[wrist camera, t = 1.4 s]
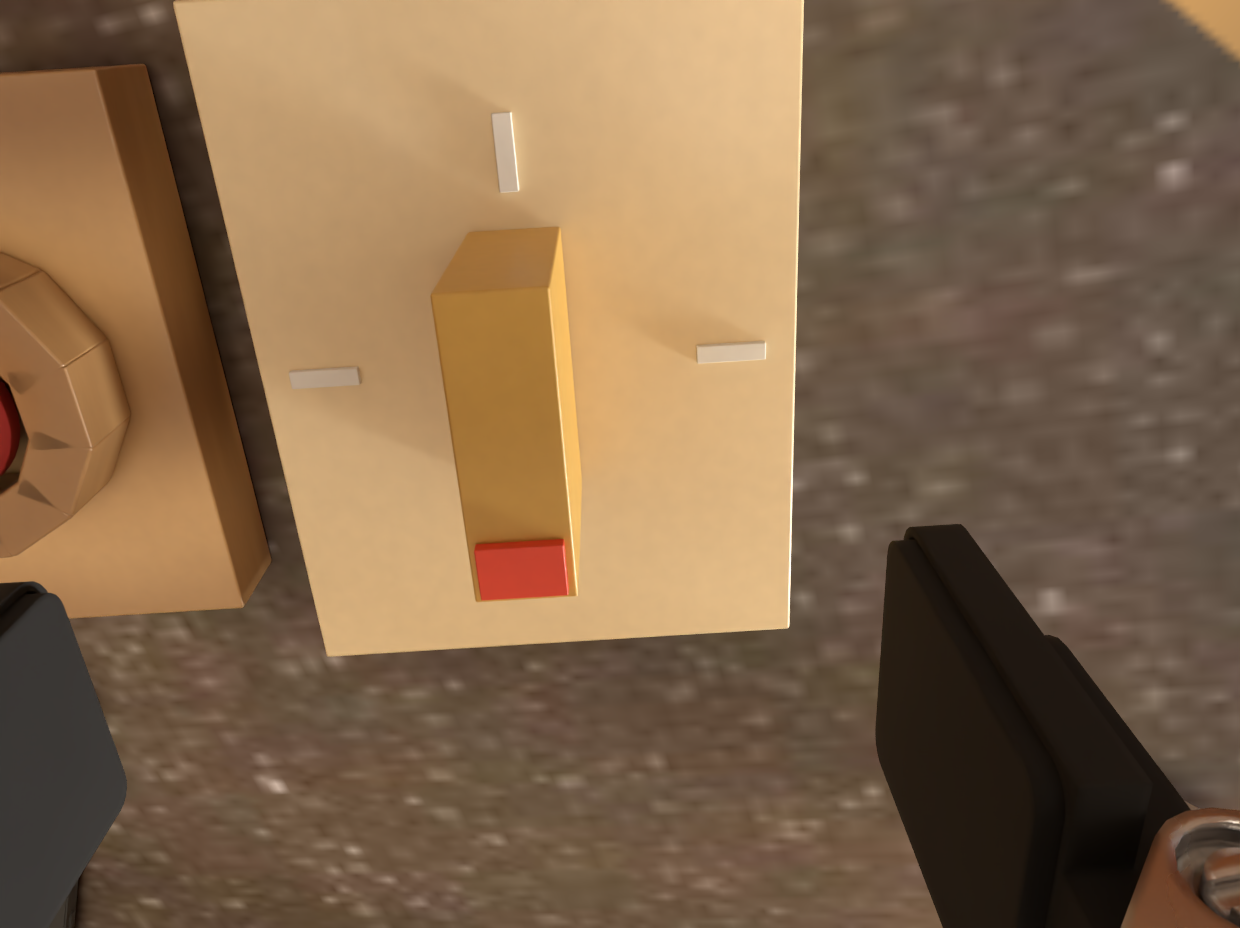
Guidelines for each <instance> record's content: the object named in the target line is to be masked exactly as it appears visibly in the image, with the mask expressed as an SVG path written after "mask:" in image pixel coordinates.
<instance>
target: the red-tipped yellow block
mask: <svg viewBox="0 0 1240 928" xmlns="http://www.w3.org/2000/svg"><path fill="white" fill-rule="evenodd" d="M430 298H431V305H432V312H433V319H434V325H435V332H436V339H437V345H438V352H439V359H440V366H441V372H442V379H443V386H444V393H445V399H446V406H447V413H448V420H449V426H450V433H451V440H452V447H453V453H454V460H455V467H456V474H457V480H458V487H459V494H460V500H461V507H462V514H463V521H464V527H465V534H466V541H467V548H468V554H469V561H470V568H471V575H472V581H473V588H474V595H475V600H476V602H492V601H508V600H524V599H540V598H557V597H573V596H577V595H578V590H579V559H580V527H581V495H582V475H581V464H580V452H579V440H578V428H577V416H576V405H575V393H574V381H573V369H572V357H571V346H570V334H569V322H568V310H567V298H566V287H565V275H564V263H563V251H562V239H561V229H560V227H542V228H526V229H511V230H495V231H479V232H469V233H467V235H466V236H465V238H464V240H463V241H462V243H461V245H460V246H459V248H458V250H457V251H456V253H455V255H454V256H453V258H452V260H451V261H450V263H449V265H448V266H447V268H446V270H445V271H444V273H443V275H442V276H441V278H440V280H439V281H438V283H437V285H436V286H435V288H434V289H433V291H432V293H431V295H430Z"/></svg>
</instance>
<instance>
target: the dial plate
mask: <svg viewBox="0 0 1240 928" xmlns="http://www.w3.org/2000/svg"><path fill="white" fill-rule="evenodd" d="M173 6H174V10H175V14H176V18H177V23H178V27H179V31H180V35H181V40H182V44H183V48H184V52H185V56H186V61H187V65H188V69H189V73H190V78H191V82H192V86H193V90H194V95H195V99H196V103H197V107H198V111H199V116H200V120H201V124H202V128H203V133H204V137H205V141H206V145H207V150H208V154H209V158H210V162H211V167H212V171H213V175H214V179H215V183H216V188H217V192H218V196H219V200H220V205H221V209H222V213H223V217H224V222H225V226H226V230H227V234H228V238H229V243H230V247H231V251H232V255H233V260H234V264H235V268H236V272H237V277H238V281H239V285H240V289H241V293H242V298H243V302H244V306H245V310H246V315H247V319H248V323H249V327H250V332H251V336H252V340H253V344H254V348H255V353H256V357H257V361H258V365H259V370H260V374H261V378H262V382H263V387H264V391H265V395H266V399H267V404H268V408H269V412H270V416H271V420H272V425H273V429H274V433H275V437H276V442H277V446H278V450H279V454H280V459H281V463H282V467H283V471H284V475H285V480H286V484H287V488H288V492H289V497H290V501H291V505H292V509H293V514H294V518H295V522H296V526H297V530H298V535H299V539H300V543H301V547H302V552H303V556H304V560H305V564H306V569H307V573H308V577H309V581H310V586H311V590H312V594H313V598H314V602H315V607H316V611H317V615H318V619H319V624H320V628H321V632H322V636H323V641H324V645H325V649H326V653H327V656H329V657H330V656H346V655H363V654H379V653H395V652H411V651H428V650H444V649H460V648H476V647H492V646H509V645H525V644H541V643H557V642H574V641H590V640H606V639H622V638H638V637H655V636H671V635H687V634H703V633H720V632H736V631H752V630H768V629H784V628H789V618H790V575H791V531H792V488H793V445H794V401H795V358H796V315H797V272H798V228H799V185H800V142H801V98H802V55H803V12H804V0H176V1H174V2H173ZM542 227H560V229H561V239H562V251H563V263H564V275H565V287H566V298H567V310H568V322H569V334H570V346H571V357H572V369H573V381H574V393H575V405H576V416H577V428H578V440H579V452H580V464H581V475H582V495H581V527H580V559H579V590H578V595H577V596H573V597H557V598H540V599H524V600H508V601H492V602H476V600H475V595H474V588H473V581H472V575H471V568H470V561H469V554H468V548H467V541H466V534H465V527H464V521H463V514H462V507H461V500H460V494H459V487H458V480H457V474H456V467H455V460H454V453H453V447H452V440H451V433H450V426H449V420H448V413H447V406H446V399H445V393H444V386H443V379H442V372H441V366H440V359H439V352H438V345H437V339H436V332H435V325H434V319H433V312H432V305H431V298H430V295H431V293H432V291H433V289H434V288H435V286H436V285H437V283H438V281H439V280H440V278H441V276H442V275H443V273H444V271H445V270H446V268H447V266H448V265H449V263H450V261H451V260H452V258H453V256H454V255H455V253H456V251H457V250H458V248H459V246H460V245H461V243H462V241H463V240H464V238H465V236H466V235H467V233H469V232H479V231H495V230H511V229H526V228H542Z"/></svg>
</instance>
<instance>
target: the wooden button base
mask: <svg viewBox="0 0 1240 928" xmlns="http://www.w3.org/2000/svg"><path fill="white" fill-rule="evenodd" d="M0 379H1V380H2V382H3V383H4V384H5V386H6V388H7V389H8V391H9V393H10V394H11V397H12V399H13V401H14V404H15V406H16V409H17V413H18V416H19V423H20V441H19V447H18V450H17V453H16V456H15V459H14V460H13V462H12V464H11V466H10V467H9V468H8V469H7V471H6V472H5V473H4V474H3V475H2V476H1V477H0V583H11V582H27V581H34V582H37V583H39V584H41V585H42V586H43V587H44V588H45V589H46V590H47V592H48V593H53V594H56V595H57V596H58V597H59V598H60V599H61V601H62V603H63V605H64V607H65V610H66V613H67V616H68V618H85V617H101V616H117V615H133V614H149V613H165V612H181V611H198V610H214V609H230V608H242V607H244V606H245V604H246V603H247V601H248V599H249V598H250V596H251V594H252V593H253V591H254V589H255V588H256V586H257V584H258V583H259V581H260V579H261V578H262V576H263V574H264V573H265V571H266V569H267V568H268V566H269V564H270V563H271V556H270V552H269V548H268V544H267V540H266V537H265V533H264V529H263V525H262V521H261V517H260V513H259V509H258V505H257V501H256V497H255V493H254V489H253V485H252V481H251V477H250V473H249V470H248V466H247V462H246V458H245V454H244V450H243V446H242V442H241V438H240V434H239V430H238V426H237V422H236V418H235V414H234V410H233V407H232V403H231V399H230V395H229V391H228V387H227V383H226V379H225V375H224V371H223V367H222V363H221V359H220V355H219V351H218V347H217V344H216V340H215V336H214V332H213V328H212V324H211V320H210V316H209V312H208V308H207V304H206V300H205V296H204V292H203V288H202V284H201V280H200V277H199V273H198V269H197V265H196V261H195V257H194V253H193V249H192V245H191V241H190V237H189V233H188V229H187V225H186V221H185V217H184V214H183V210H182V206H181V202H180V198H179V194H178V190H177V186H176V182H175V178H174V174H173V170H172V166H171V162H170V158H169V154H168V151H167V147H166V143H165V139H164V135H163V131H162V127H161V123H160V119H159V115H158V111H157V107H156V103H155V99H154V95H153V91H152V87H151V84H150V80H149V76H148V72H147V68H146V65H145V64H130V65H114V66H99V67H83V68H68V69H52V70H37V71H21V72H6V73H0Z"/></svg>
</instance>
